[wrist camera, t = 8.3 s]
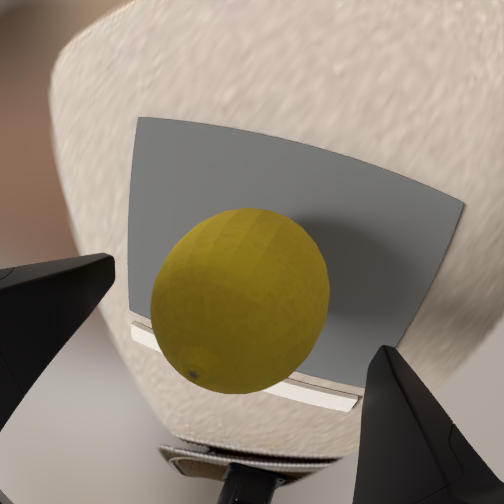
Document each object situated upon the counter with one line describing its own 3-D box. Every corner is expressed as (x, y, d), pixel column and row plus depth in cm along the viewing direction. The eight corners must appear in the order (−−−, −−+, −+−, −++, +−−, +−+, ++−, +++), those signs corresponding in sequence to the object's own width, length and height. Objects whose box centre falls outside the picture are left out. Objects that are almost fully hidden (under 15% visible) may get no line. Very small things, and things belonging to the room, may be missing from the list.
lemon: (317, 179, 11) (290, 239, 4) (339, 296, 13) (329, 446, 6) (200, 206, 13) (69, 278, 6) (232, 308, 15) (156, 427, 8)
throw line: (348, 407, 16) (348, 412, 16) (134, 335, 19) (132, 339, 18) (357, 395, 16) (357, 399, 15) (133, 320, 18) (130, 323, 18)
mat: (366, 383, 15) (366, 388, 15) (132, 307, 17) (129, 310, 17) (460, 200, 10) (463, 202, 10) (142, 117, 12) (138, 117, 12)
